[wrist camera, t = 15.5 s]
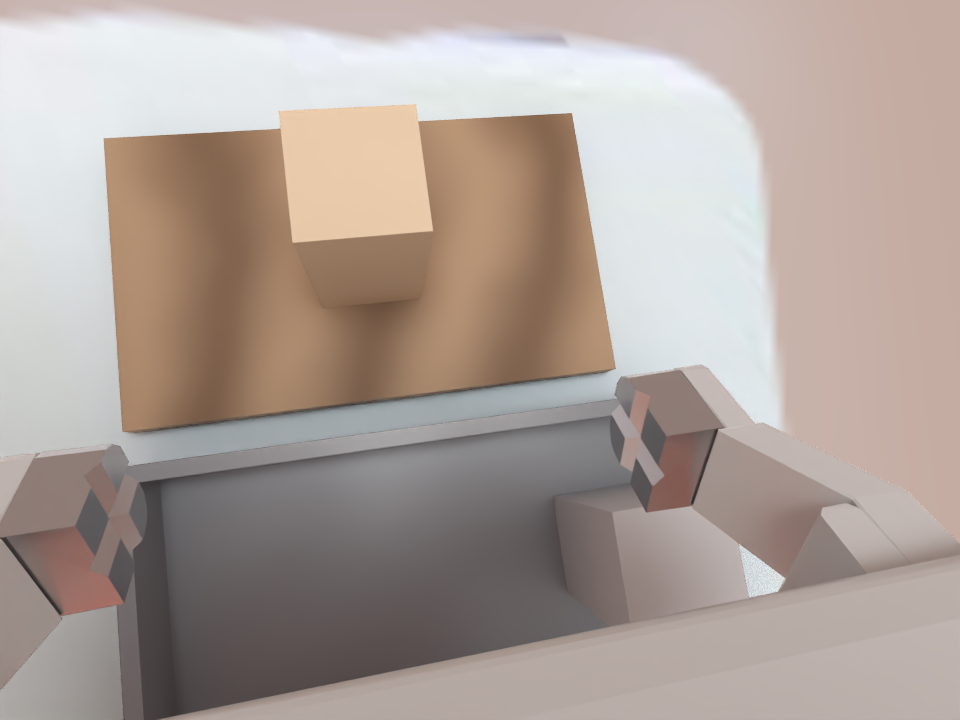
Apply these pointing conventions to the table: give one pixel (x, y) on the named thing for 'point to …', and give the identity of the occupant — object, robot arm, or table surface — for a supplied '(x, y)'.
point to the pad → (359, 328)
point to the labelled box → (358, 202)
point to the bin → (354, 556)
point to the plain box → (643, 556)
